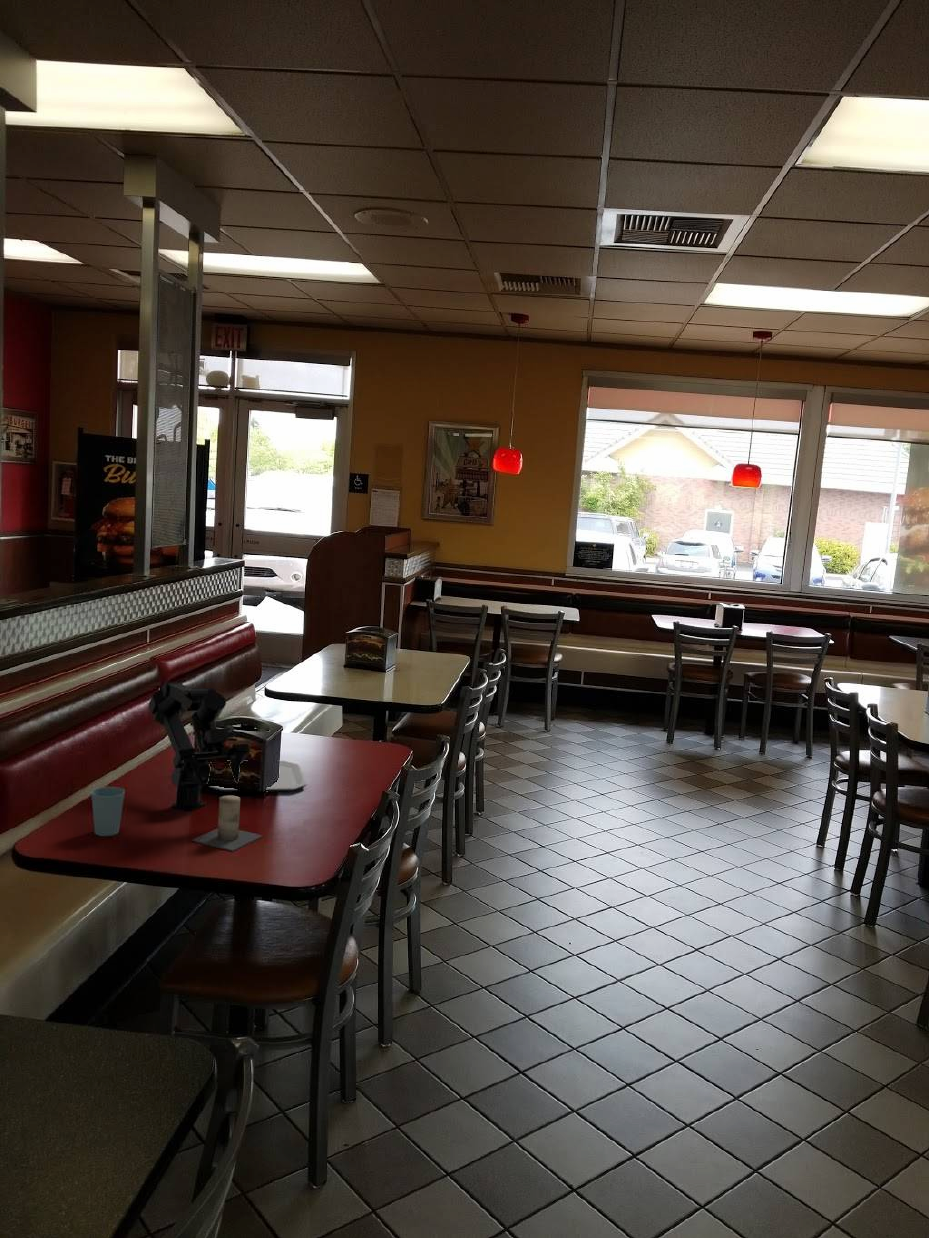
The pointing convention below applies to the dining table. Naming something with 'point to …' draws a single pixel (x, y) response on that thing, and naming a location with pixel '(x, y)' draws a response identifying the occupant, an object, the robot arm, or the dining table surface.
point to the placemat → (213, 841)
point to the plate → (281, 779)
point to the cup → (107, 810)
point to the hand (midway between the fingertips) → (220, 784)
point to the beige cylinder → (228, 818)
